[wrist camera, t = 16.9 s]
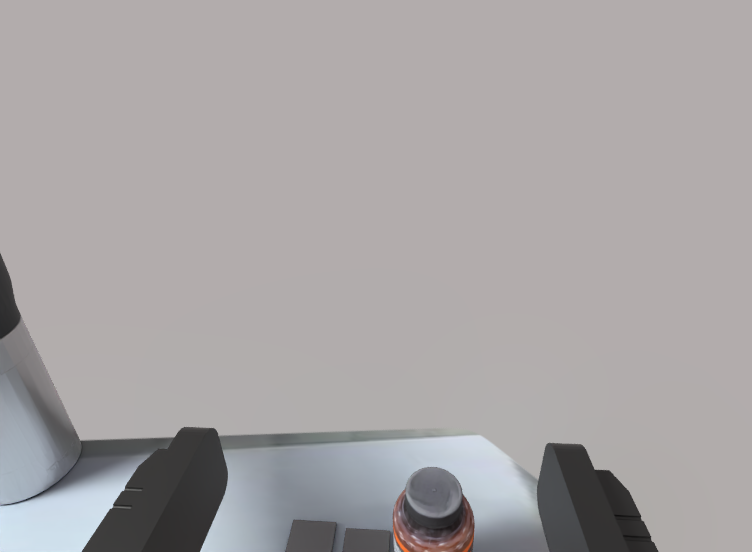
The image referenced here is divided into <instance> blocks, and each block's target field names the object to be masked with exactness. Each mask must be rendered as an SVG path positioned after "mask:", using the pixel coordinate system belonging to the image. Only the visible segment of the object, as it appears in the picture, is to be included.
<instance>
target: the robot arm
mask: <svg viewBox="0 0 752 552" xmlns="http://www.w3.org/2000/svg"><path fill="white" fill-rule="evenodd" d="M81 448H82V446H81V442H80V439H79V437H78V435H77V433H76V431H75V429H74V427H73V425H72V423H71V420H70V418H69V416H68V414H67V412H66V409H65V407H64V405H63V403H62V401H61V399H60V397H59V395H58V393H57V390H56V388H55V386H54V384H53V382H52V380H51V378H50V376H49V374H48V371H47V369H46V367H45V365H44V363H43V361H42V359H41V357H40V355H39V353H38V350H37V348H36V346H35V344H34V342H33V340H32V338H31V336H30V334H29V332H28V330H27V328H26V325H25V323H24V321H23V319H22V317H21V315H20V312H19V310H18V308H17V306H16V303H15V299H14V294H13V288H12V283H11V279H10V276H9V274H8V271H7V269H6V266H5V263H4V261H3V259H2V256H1V254H0V505H3V504H11V503H15V502H19V501H22V500H25V499H27V498H30V497H32V496H35V495H37V494H39V493H40V492H42V491H44V490H46V489H48V488H49V487H51V486H52V485H54V484H55V483H56V482H58V481H59V480H60V479H61V478H62V477H64V476H65V475H66V474H67V473H68V472H69V471H70V470H71V469H72V467H73V466H74V465H75V463H76V462H77V460H78V458H79V456H80V454H81ZM227 479H228V471H227V466H226V462H225V459H224V455H223V451H222V448H221V444H220V440H219V436H218V433H217V431H216V430H215V429H214V428H195V427H184V428H182V429H181V430H180V431H179V432H178V433H177V435H176V436H175V438H174V440H173V441H172V443H171V444H170V446H169V448H168V449H158V450H157V451H155V452H154V453H153V454H152V455H151V456H150V457H149V458H147V459H146V460H145V461H144V462H143V463H142V464H141V465H139V466H138V468H137V469H136V471H135V472H134V474H133V475H132V477H131V478H130V480H129V481H128V483H127V484H126V486H125V490H124V491H122V492H121V493H120V495H119V496H118V498H117V499H116V501H115V502H114V504H113V508H112V509H110V510H109V511H108V513H107V514H106V516H105V517H104V519H103V520H102V522H101V523H100V525H99V526H98V528H97V529H96V531H95V532H94V534H93V535H92V537H91V538H90V540H89V541H88V543H87V544H86V546H85V547H84V549H83V550H82V552H200V550H201V548H202V545H203V543H204V541H205V538H206V536H207V534H208V531H209V529H210V527H211V524H212V522H213V520H214V518H215V515H216V513H217V511H218V508H219V506H220V504H221V501H222V499H223V496H224V494H225V491H226V486H227ZM537 501H538V509H539V514H540V518H541V521H542V525H543V529H544V533H545V536H546V540H547V544H548V547H549V551H550V552H658V550H657V548H656V546H655V544H654V542H652V541H651V536H650V534H649V532H648V530H647V527H646V525H645V524H644V522H643V521H642V520H641V515H640V513H639V511H638V509H637V507H636V505H635V503H634V501H633V499H632V497H631V495H630V492H629V491H628V490H627V489H626V488H625V487H624V486H623V485H622V484H621V482H620V481H619V480H618V479H617V478H616V477H615V476H614V475H613V474H612V473H611V472H610V471H609V470H594V467H593V465H592V463H591V460H590V458H589V456H588V454H587V451H586V449H585V448H584V447H583V445H581V444H558V443H548V444H547V445H546V447H545V452H544V456H543V462H542V466H541V471H540V476H539V481H538V486H537Z"/></svg>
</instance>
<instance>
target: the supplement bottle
mask: <svg viewBox="0 0 752 552" xmlns="http://www.w3.org/2000/svg"><path fill="white" fill-rule="evenodd" d="M393 536H394V552H472V550H473V539H474V516H473V512H472V509H471V507H470V504H469V502H468V501H467V499H466V498H465V496H464V495H463V493H462V488H461V485H460V483H459V482H458V480H457V479H456V478H455V476H454V475H452V474H451V473H449V472H448V471H446V470H444V469H441V468H437V467H427V468H423V469H420V470H418V471H416V472H415V473H413V474H412V475H411V477H410V478H409V479H408V482H407V484H406V489H405V490H404V491H403V492H402V493H401V494H400V496H399V497H398V499H397V501H396V504H395V507H394V511H393Z"/></svg>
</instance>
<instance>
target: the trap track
mask: <svg viewBox="0 0 752 552" xmlns="http://www.w3.org/2000/svg"><path fill="white" fill-rule="evenodd" d="M335 530H336V522H323V521H306V520H293V524H292V528H291V532H290V536H289V539H288V543H287V547H286V551H285V552H332V548H333V542H334V536H335ZM389 542H390V531H386V530H369V529H352V528H346V532H345V539H344V545H343V552H389Z"/></svg>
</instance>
